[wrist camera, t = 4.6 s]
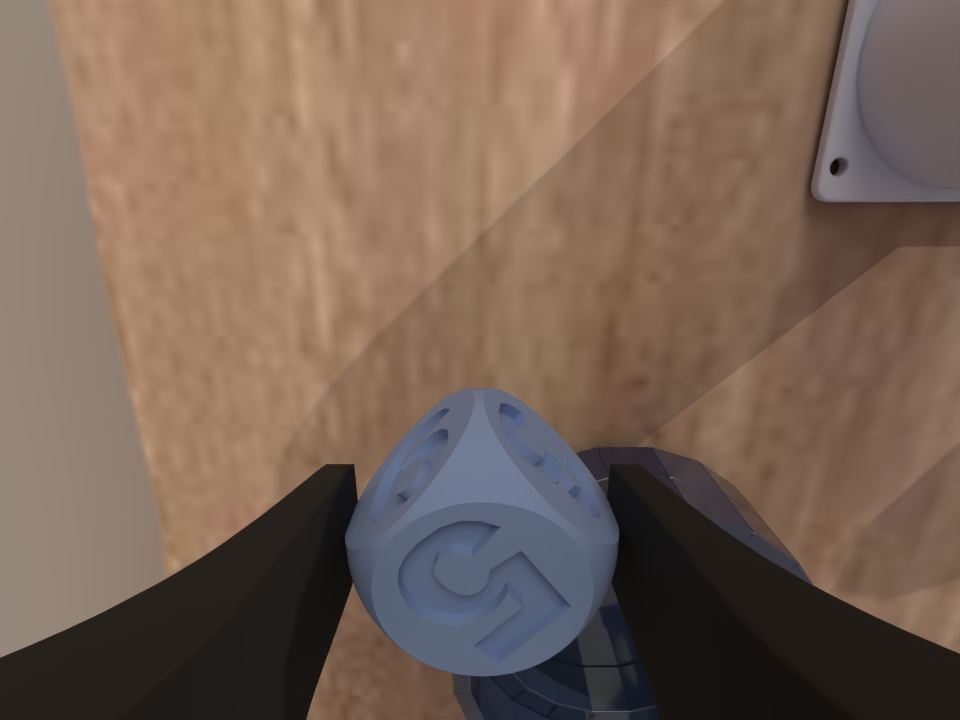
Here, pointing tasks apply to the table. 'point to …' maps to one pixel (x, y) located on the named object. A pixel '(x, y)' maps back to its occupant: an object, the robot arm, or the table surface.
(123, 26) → the table surface
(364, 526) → the decorative dice
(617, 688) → the bowl
